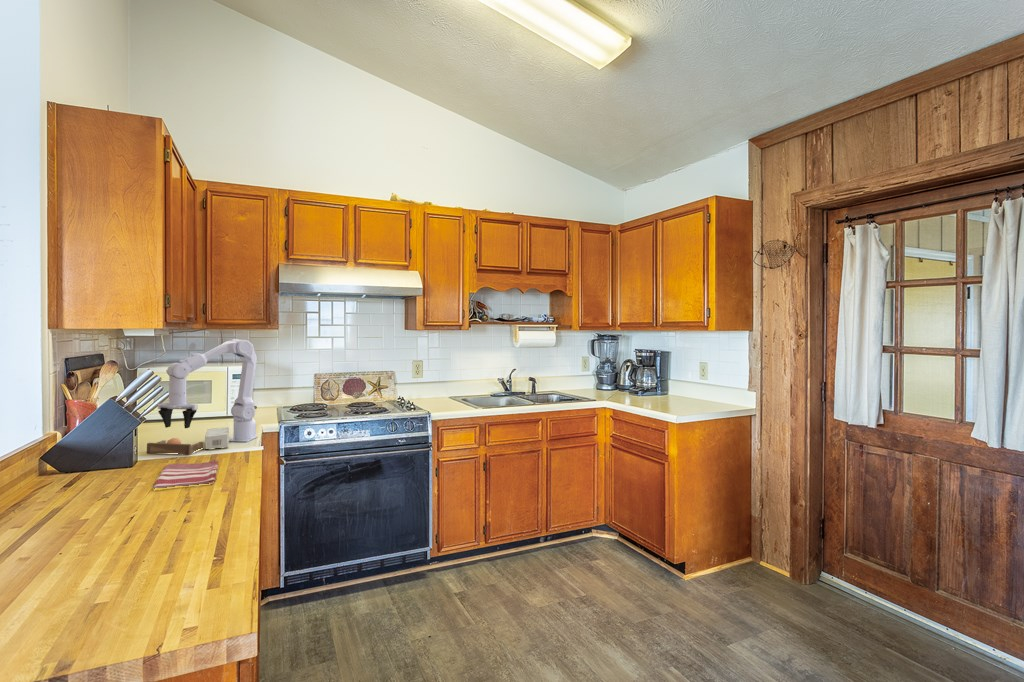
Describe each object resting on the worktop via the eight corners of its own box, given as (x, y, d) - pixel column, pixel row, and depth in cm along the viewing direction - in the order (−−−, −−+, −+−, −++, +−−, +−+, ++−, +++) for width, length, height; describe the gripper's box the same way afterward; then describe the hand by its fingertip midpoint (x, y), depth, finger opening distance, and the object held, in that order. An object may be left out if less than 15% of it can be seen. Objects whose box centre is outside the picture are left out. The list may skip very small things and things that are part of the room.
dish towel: (219, 466, 183) (219, 459, 183) (214, 486, 162) (214, 478, 162) (163, 471, 175) (163, 464, 175) (151, 493, 154) (151, 484, 154)
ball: (176, 451, 202) (169, 440, 201) (186, 444, 202) (179, 434, 201) (167, 454, 197) (160, 443, 196) (178, 448, 197) (171, 437, 196)
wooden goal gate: (163, 447, 203) (163, 437, 203) (204, 449, 203) (204, 439, 203) (146, 453, 194) (146, 443, 193) (189, 455, 194) (189, 444, 193)
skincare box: (204, 436, 201) (206, 428, 213) (205, 451, 201) (206, 442, 214) (229, 434, 205) (228, 426, 218) (229, 448, 205) (228, 439, 218)
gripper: (152, 394, 194) (152, 428, 195) (189, 395, 194) (189, 430, 195) (164, 391, 201) (164, 425, 202) (200, 392, 201) (200, 426, 202)
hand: (177, 427), depth 199 cm, fingers open, 7 cm apart
